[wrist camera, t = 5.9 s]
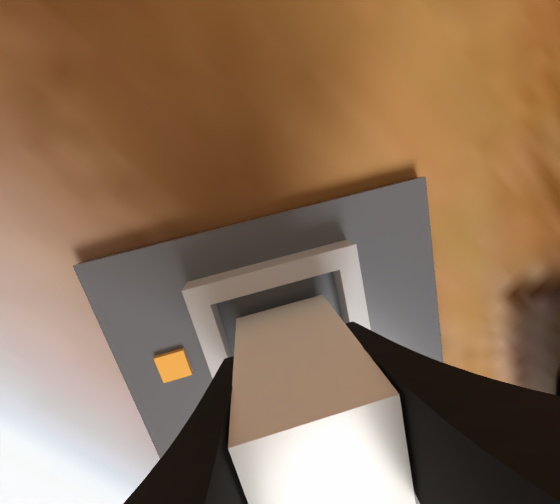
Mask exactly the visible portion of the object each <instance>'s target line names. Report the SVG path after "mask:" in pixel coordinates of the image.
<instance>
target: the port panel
mask: <svg viewBox="0 0 560 504" xmlns="http://www.w3.org/2000/svg"><path fill="white" fill-rule="evenodd" d="M73 267H74V270H75V272H76V274H77V276H78V278H79V281H80V283H81V285H82V287H83V289H84V292H85V294H86V296H87V298H88V300H89V303H90V305H91V307H92V309H93V312H94V314H95V316H96V318H97V320H98V323H99V325H100V327H101V329H102V331H103V334H104V336H105V338H106V340H107V342H108V345H109V347H110V349H111V351H112V353H113V356H114V358H115V360H116V362H117V364H118V367H119V369H120V371H121V373H122V375H123V378H124V380H125V382H126V384H127V386H128V389H129V391H130V393H131V395H132V397H133V400H134V402H135V404H136V406H137V409H138V411H139V413H140V415H141V417H142V420H143V422H144V424H145V426H146V428H147V431H148V433H149V435H150V437H151V439H152V442H153V444H154V446H155V448H156V450H157V453H158V455H159V457H160V459H161V458H162V456H163V455H164V454H165V452H166V451H167V450H168V448H169V447H170V446H171V444H172V443H173V441H174V440H175V439H176V437H177V436H178V434H179V433H180V431H181V430H182V428H183V427H184V425H185V424H186V422H187V421H188V419H189V418H190V416H191V415H192V413H193V412H194V410H195V408H196V407H197V405H198V403H199V402H200V400H201V398H202V397H203V395H204V393H205V392H206V390H207V388H208V386H209V385H210V383H211V381H212V379H213V378H214V376H215V374H216V372H217V370H218V369H219V367H220V365H221V364H222V362H223V360H224V359H225V358H228V357H232V356H234V347H235V332H236V319H237V318H240V317H244V316H247V315H251V314H255V313H258V312H262V311H265V310H269V309H272V308H276V307H279V306H283V305H287V304H290V303H294V302H297V301H301V300H304V299H308V298H312V297H315V296H319V295H322V294H323V296H324V297H325V298H326V300H327V301H328V302H329V303H330V305H331V306H332V307H333V309H334V310H335V311H336V313H337V314H338V315H339V316H340V318H341V319H342V320H343V322H344V323H349V322H352V321H353V322H356V323H358V324H360V325H362V326H364V327H365V328H367V329H369V330H371V331H373V332H375V333H377V334H379V335H381V336H383V337H385V338H387V339H389V340H391V341H393V342H395V343H397V344H399V345H402V346H404V347H406V348H408V349H410V350H413V351H415V352H417V353H420V354H422V355H425V356H427V357H429V358H432V359H434V360H437V361H440V362H442V363H443V355H442V344H441V334H440V323H439V313H438V303H437V292H436V282H435V271H434V261H433V250H432V240H431V229H430V219H429V208H428V198H427V187H426V177H417V178H413V179H409V180H405V181H401V182H397V183H393V184H390V185H386V186H382V187H378V188H374V189H370V190H366V191H362V192H358V193H354V194H350V195H346V196H342V197H338V198H334V199H330V200H326V201H322V202H318V203H314V204H310V205H306V206H303V207H299V208H295V209H291V210H287V211H283V212H279V213H275V214H271V215H267V216H263V217H259V218H255V219H251V220H247V221H243V222H239V223H235V224H231V225H227V226H223V227H219V228H216V229H212V230H208V231H204V232H200V233H196V234H192V235H188V236H184V237H180V238H176V239H172V240H168V241H164V242H160V243H156V244H152V245H148V246H144V247H140V248H136V249H132V250H129V251H125V252H121V253H117V254H113V255H109V256H105V257H101V258H97V259H93V260H89V261H85V262H81V263H79V264H76V265H74V266H73ZM414 496H415V502H416V504H420V503H419V501H418V499H417V497H416V495H415V493H414Z"/></svg>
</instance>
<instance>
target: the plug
mask: <svg viewBox="0 0 560 504" xmlns="http://www.w3.org/2000/svg"><path fill="white" fill-rule="evenodd" d="M232 387H233V388H232V394H231V409H230V425H229V440H228V450H229V453H230V455H231V458H232V461H233V464H234V466H235V469H236V472H237V475H238V477H239V480H240V483H241V485H242V488H243V491H244V494H245V496H246V499H247V502H248V504H416V502H415V496H414V489H413V482H412V476H411V469H410V462H409V455H408V449H407V442H406V435H405V429H404V422H403V415H402V408H401V402H400V395H399V393H398V392H397V391H396V389H395V388H394V387H393V385H392V384H391V383H390V381H389V380H388V379H387V378H386V376H385V375H384V374H383V372H382V371H381V370H380V368H379V367H378V366H377V365H376V363H375V362H374V361H373V359H372V358H371V357H370V355H369V354H368V353H367V352H366V351H365V350H364V349H363V346H362V345H361V344H360V342H359V341H358V340H357V339H356V337H355V336H354V335H353V333H352V332H351V331H350V329H349V328H348V327H347V326H346V324H345V323H344V322H343V320H342V319H341V318H340V316H339V315H338V314H337V313H336V311H335V310H334V309H333V307H332V306H331V305H330V303H329V302H328V301H327V300H326V298H325V297H324V296H323V294H322V295H319V296H315V297H312V298H308V299H304V300H301V301H297V302H294V303H290V304H287V305H283V306H279V307H276V308H272V309H269V310H265V311H262V312H258V313H255V314H251V315H247V316H244V317H240V318H237V319H236V332H235V347H234V363H233V378H232Z"/></svg>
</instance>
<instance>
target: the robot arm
mask: <svg viewBox="0 0 560 504" xmlns="http://www.w3.org/2000/svg"><path fill="white" fill-rule="evenodd" d="M345 324H346V326H347V327H348V328H349V329H350V331H351V332H352V333H353V335H354V336H355V337H356V339H357V340H358V341H359V342H360V344H361V345H362V346H363V349H364V350H365V351H366V352H367V353H368V354H369V355H370V357H371V358H372V359H373V361H374V362H375V363H376V365H377V366H378V367H379V368H380V370H381V371H382V372H383V374H384V375H385V376H386V378H387V379H388V380H389V381H390V383H391V384H392V385H393V387H394V388H395V389H396V391H397V392H398V393H399V395H400V402H401V408H402V415H403V422H404V429H405V435H406V442H407V449H408V455H409V462H410V469H411V476H412V482H413V489H414V493H415V495H416V497H417V499H418V501H419V503H420V504H560V396H557V395H552V394H548V393H544V392H540V391H535V390H531V389H527V388H523V387H520V386H516V385H512V384H509V383H505V382H501V381H498V380H494V379H490V378H487V377H484V376H480V375H477V374H474V373H471V372H468V371H465V370H462V369H459V368H456V367H453V366H450V365H448V364H445V363H442V362H440V361H437V360H434V359H432V358H429V357H427V356H425V355H422V354H420V353H417V352H415V351H413V350H410V349H408V348H406V347H404V346H402V345H399V344H397V343H395V342H393V341H391V340H389V339H387V338H385V337H383V336H381V335H379V334H377V333H375V332H373V331H371V330H369V329H367V328H365V327H364V326H362V325H360V324H358V323H356V322H353V321H352V322H349V323H345ZM233 363H234V356H232V357H228V358H225V359H224V360H223V362H222V364H221V365H220V367H219V369H218V370H217V372H216V374H215V376H214V378H213V379H212V381H211V383H210V385H209V386H208V388H207V390H206V392H205V393H204V395H203V397H202V398H201V400H200V402H199V403H198V405H197V407H196V408H195V410H194V412H193V413H192V415H191V416H190V418H189V419H188V421H187V422H186V424H185V425H184V427H183V428H182V430H181V431H180V433H179V434H178V436H177V437H176V439H175V440H174V441H173V443H172V444H171V446H170V447H169V448H168V450H167V451H166V452H165V454H164V455H163V456H162V458H161V459H160V460H159V461H158V463H157V464H156V465H155V467H154V468H153V469H152V470H151V472H150V473H149V474H148V475H147V477H146V478H145V479H144V480H143V482H142V483H141V484H140V485H139V486H138V487H137V489H136V490H135V491H134V492H133V493H132V494H131V496H130V497H129V498H128V499H127V500H126V501H125V502H124V504H248V502H247V499H246V496H245V494H244V491H243V488H242V485H241V483H240V480H239V477H238V475H237V472H236V469H235V466H234V464H233V461H232V458H231V455H230V453H229V450H228V440H229V425H230V409H231V394H232V388H233V387H232V378H233Z"/></svg>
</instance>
